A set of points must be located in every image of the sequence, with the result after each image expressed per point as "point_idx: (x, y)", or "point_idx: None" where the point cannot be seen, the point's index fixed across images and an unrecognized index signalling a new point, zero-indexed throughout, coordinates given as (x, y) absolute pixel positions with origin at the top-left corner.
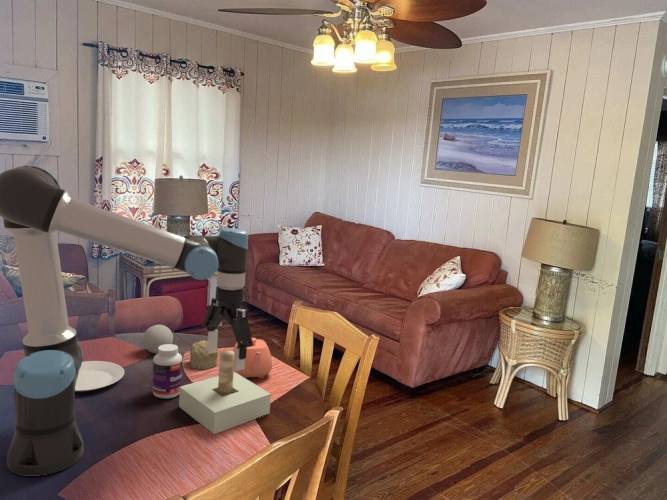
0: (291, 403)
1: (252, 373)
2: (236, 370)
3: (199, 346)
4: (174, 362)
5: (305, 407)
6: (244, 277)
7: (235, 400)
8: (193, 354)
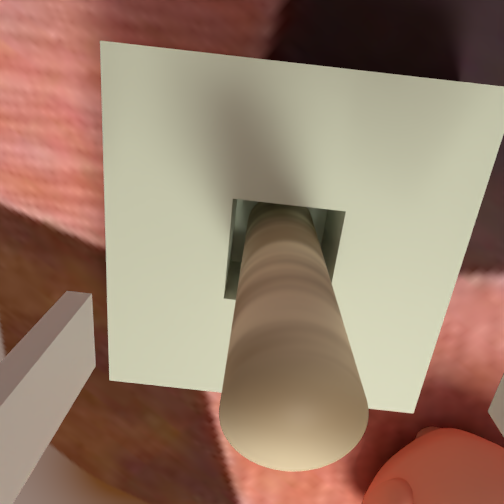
0: (151, 422)
1: (390, 469)
2: (66, 298)
3: None
4: None
5: (99, 433)
6: None
7: (153, 222)
8: None
